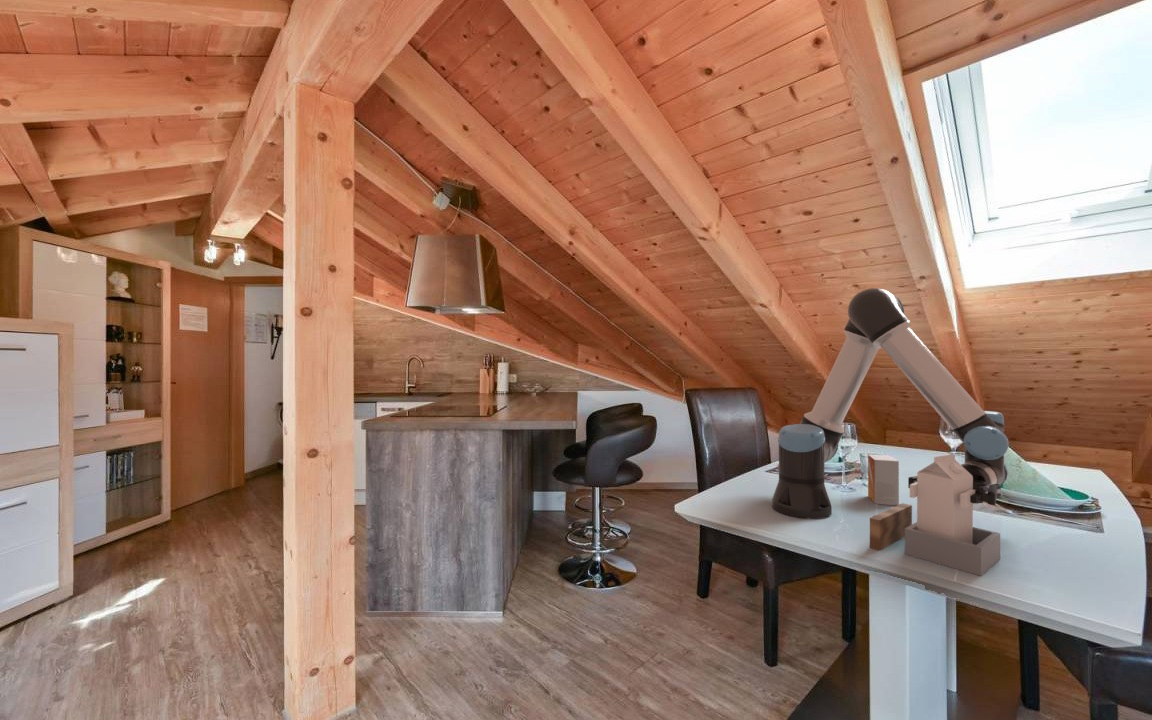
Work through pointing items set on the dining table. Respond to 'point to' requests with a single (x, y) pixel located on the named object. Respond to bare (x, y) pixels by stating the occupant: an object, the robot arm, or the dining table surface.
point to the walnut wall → (889, 526)
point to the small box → (883, 479)
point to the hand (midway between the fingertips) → (936, 496)
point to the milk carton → (944, 500)
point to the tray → (955, 549)
